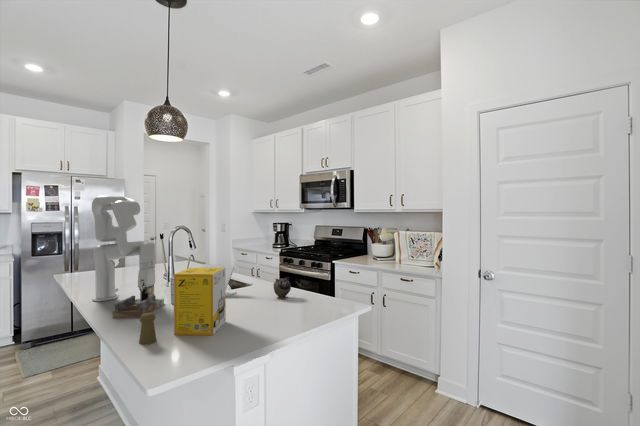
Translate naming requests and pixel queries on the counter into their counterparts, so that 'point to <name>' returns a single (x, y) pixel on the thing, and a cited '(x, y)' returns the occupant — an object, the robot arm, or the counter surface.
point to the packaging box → (199, 301)
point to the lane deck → (136, 307)
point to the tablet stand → (227, 274)
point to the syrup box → (172, 289)
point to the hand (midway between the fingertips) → (147, 298)
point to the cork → (147, 329)
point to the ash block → (149, 291)
